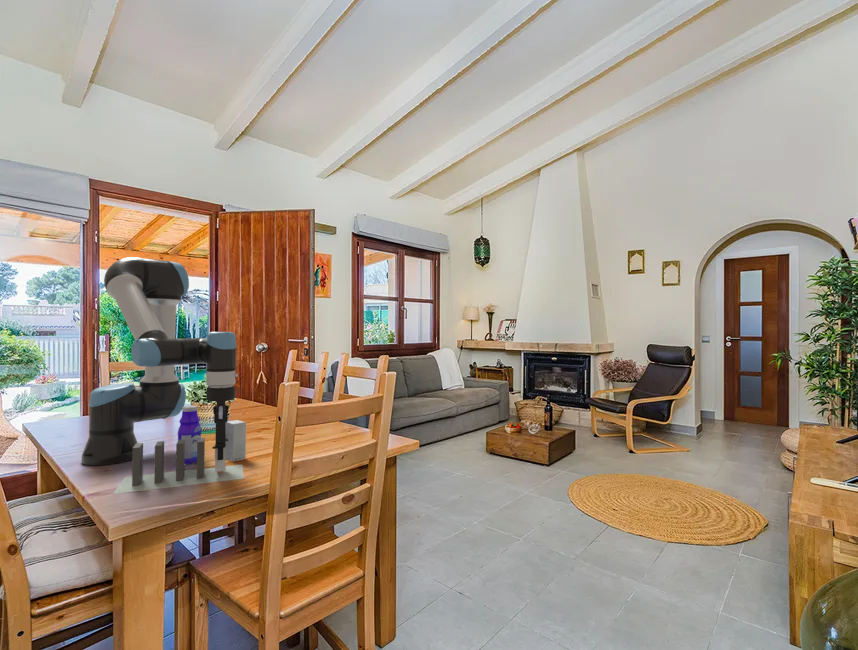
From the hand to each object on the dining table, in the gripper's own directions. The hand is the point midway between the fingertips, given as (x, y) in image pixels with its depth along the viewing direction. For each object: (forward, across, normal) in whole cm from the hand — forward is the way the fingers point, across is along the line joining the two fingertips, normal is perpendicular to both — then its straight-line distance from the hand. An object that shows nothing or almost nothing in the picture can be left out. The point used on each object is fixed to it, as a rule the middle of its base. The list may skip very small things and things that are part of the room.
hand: (220, 467), depth 128 cm
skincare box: (+2, +15, -4) cm, 16 cm away
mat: (+2, 0, +9) cm, 9 cm away
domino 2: (+2, 0, +15) cm, 15 cm away
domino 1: (+2, 0, +20) cm, 20 cm away
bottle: (+2, +17, +9) cm, 19 cm away
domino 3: (+2, 0, +10) cm, 10 cm away
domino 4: (+2, 0, +5) cm, 5 cm away
